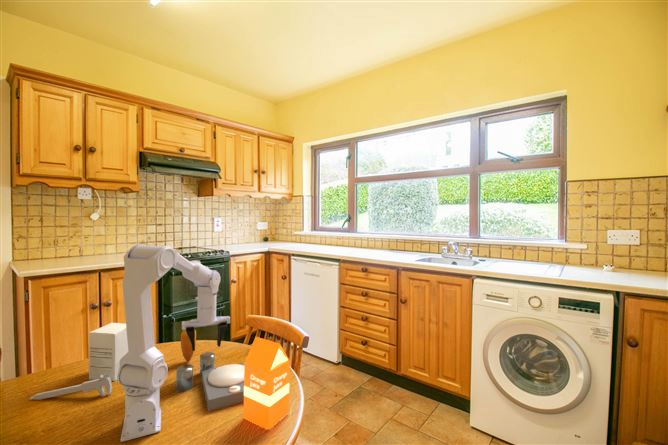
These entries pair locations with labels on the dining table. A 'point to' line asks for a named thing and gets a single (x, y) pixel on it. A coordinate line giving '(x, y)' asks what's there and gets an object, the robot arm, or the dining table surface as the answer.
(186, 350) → the carrot
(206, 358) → the steel weight
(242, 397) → the kitchen scale
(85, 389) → the caliper
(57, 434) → the dining table surface
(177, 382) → the steel weight
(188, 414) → the dining table surface
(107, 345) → the supplement box
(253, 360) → the orange juice
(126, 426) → the robot arm
